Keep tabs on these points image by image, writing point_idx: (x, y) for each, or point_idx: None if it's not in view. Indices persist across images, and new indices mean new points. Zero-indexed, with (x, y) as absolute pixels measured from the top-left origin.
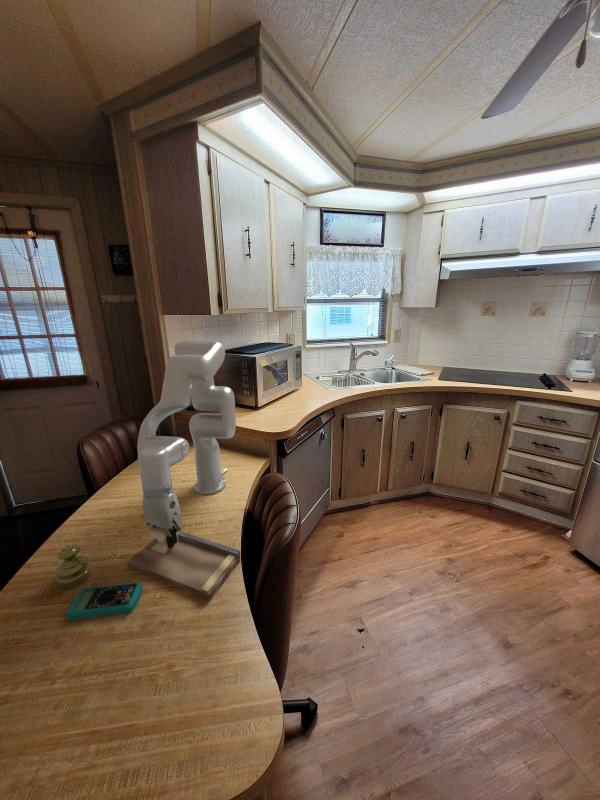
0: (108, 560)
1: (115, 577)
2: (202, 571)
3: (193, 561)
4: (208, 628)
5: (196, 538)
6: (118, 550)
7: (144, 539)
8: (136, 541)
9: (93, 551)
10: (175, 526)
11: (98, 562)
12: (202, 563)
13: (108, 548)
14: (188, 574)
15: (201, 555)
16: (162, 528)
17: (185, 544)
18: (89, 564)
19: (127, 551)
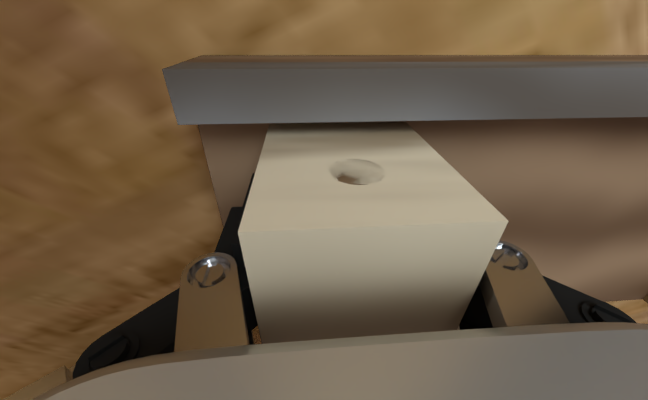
0: (136, 305)
1: (256, 328)
2: (639, 243)
3: (578, 219)
4: (643, 317)
5: (603, 96)
6: (96, 263)
7: (112, 158)
8: (91, 190)
9: (6, 304)
10: (555, 316)
11: (114, 322)
12: (635, 212)
13: (35, 273)
14: (571, 274)
15: (622, 173)
16: (364, 330)
17: (478, 139)
18: None
19: (144, 252)
